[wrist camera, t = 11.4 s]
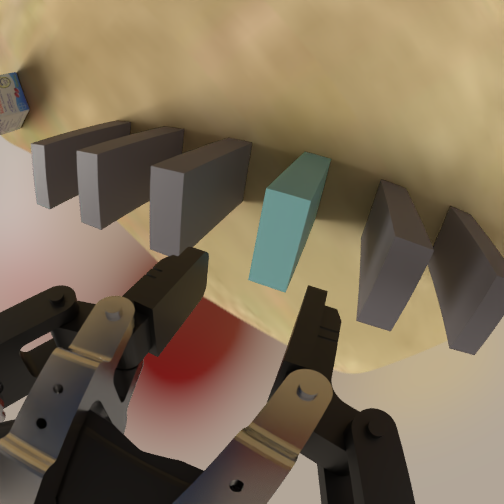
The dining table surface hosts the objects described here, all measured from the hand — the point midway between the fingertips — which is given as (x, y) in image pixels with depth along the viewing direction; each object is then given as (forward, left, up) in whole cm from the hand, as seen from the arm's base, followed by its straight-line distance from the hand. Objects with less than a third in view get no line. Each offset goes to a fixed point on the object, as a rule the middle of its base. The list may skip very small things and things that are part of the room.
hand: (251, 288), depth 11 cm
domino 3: (+3, -6, -14) cm, 15 cm away
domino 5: (-2, +6, -14) cm, 15 cm away
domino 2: (+5, -11, -14) cm, 18 cm away
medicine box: (+11, -39, -14) cm, 43 cm away
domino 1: (+7, -17, -14) cm, 23 cm away
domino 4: (0, 0, -14) cm, 14 cm away
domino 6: (-4, +11, -14) cm, 18 cm away
